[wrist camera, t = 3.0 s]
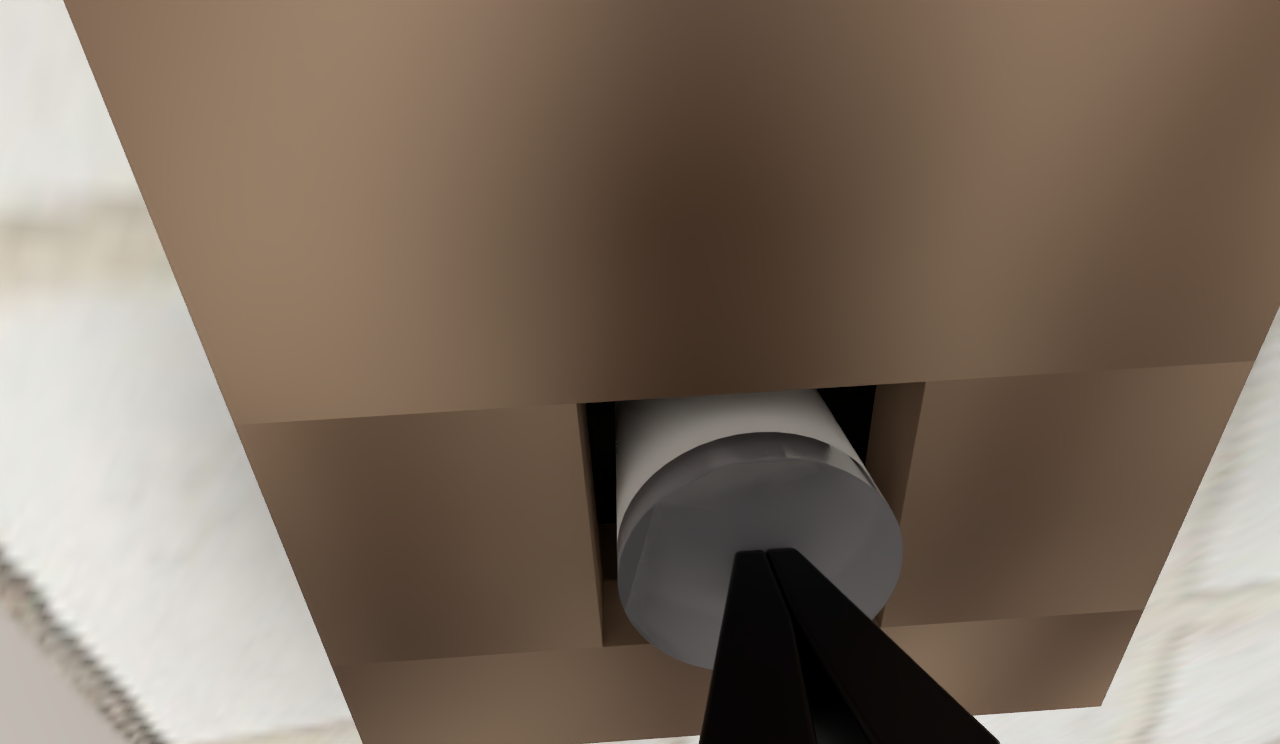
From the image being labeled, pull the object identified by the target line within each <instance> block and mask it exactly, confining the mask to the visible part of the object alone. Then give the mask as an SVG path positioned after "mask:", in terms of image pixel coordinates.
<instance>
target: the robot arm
mask: <svg viewBox="0 0 1280 744" xmlns="http://www.w3.org/2000/svg"><path fill="white" fill-rule="evenodd" d="M699 744H1000V742H999V741H998V740H997V739H996V738H995V737H994V736H993V735H992V734H991V733H990V732H989V731H988V730H987V729H986V728H985V727H984V726H983V725H982V724H980V723H979V722H978V721H977V720H976V719H975V718H974V717H973V716H972V715H971V714H970V713H969V712H968V711H967V710H966V709H965V708H964V707H963V706H961V705H960V704H959V703H958V702H957V701H956V700H955V699H954V698H953V697H952V696H951V695H950V694H949V693H948V692H947V691H946V690H945V689H944V688H943V687H941V686H940V685H939V684H938V683H937V682H936V681H935V680H934V679H933V678H932V677H931V676H930V675H929V674H928V673H927V672H926V671H925V670H924V669H923V668H921V667H920V666H919V665H918V664H917V663H916V662H915V661H914V660H913V659H912V658H911V657H910V656H909V655H908V654H907V653H906V652H905V651H904V650H902V649H901V648H900V647H899V646H898V645H897V644H896V643H895V642H894V641H893V640H892V639H891V638H890V637H889V636H888V635H887V634H886V633H885V632H884V631H882V630H881V629H880V628H879V627H878V626H877V625H876V624H875V623H874V622H873V621H872V620H871V619H870V618H869V617H868V616H867V615H866V614H865V613H864V612H862V611H861V610H860V609H859V608H858V607H857V606H856V605H855V604H854V603H853V602H852V601H851V600H850V599H849V598H848V597H847V596H846V595H845V594H844V593H842V592H841V591H840V590H839V589H838V588H837V587H836V586H835V585H834V584H833V583H832V582H831V581H830V580H829V579H828V578H827V577H826V576H825V575H823V574H822V573H821V572H820V571H819V570H818V569H817V568H816V567H815V566H814V565H813V564H812V563H811V562H810V561H809V560H808V559H807V558H806V557H805V556H803V555H802V554H801V553H800V552H799V551H798V550H797V549H795V548H791V547H789V548H774V549H768V550H767V551H766V552H764V551H763V550H745V551H738V552H736V553H735V556H734V561H733V566H732V571H731V576H730V582H729V587H728V592H727V598H726V603H725V608H724V613H723V619H722V624H721V629H720V635H719V640H718V645H717V650H716V656H715V661H714V666H713V672H712V677H711V682H710V687H709V693H708V698H707V703H706V708H705V714H704V719H703V724H702V730H701V735H700V740H699Z"/></svg>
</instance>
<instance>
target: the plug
mask: <svg viewBox="0 0 1280 744" xmlns="http://www.w3.org/2000/svg"><path fill="white" fill-rule="evenodd" d="M615 440H616V505H617V571H618V590H619V596H620V600H621V603H622V606H623V608H624V611H625V613H626V615H627V617H628V618H629V620H630V622H631V623H632V625H633V626H634V627H635V628H636V630H637V631H638V632H639V633H640V635H642V636H643V637H644V638H645V639H646V640H647V641H648V642H649V643H650V644H652V645H653V646H655V647H656V648H657V649H659V650H660V651H662V652H663V653H665V654H667V655H669V656H671V657H673V658H675V659H677V660H680V661H682V662H685V663H688V664H690V665H694V666H698V667H702V668H705V669H712V670H713V666H714V661H715V656H716V650H717V645H718V640H719V635H720V629H721V624H722V619H723V613H724V608H725V603H726V598H727V592H728V587H729V582H730V576H731V571H732V566H733V561H734V556H735V553H736V552H738V551H745V550H763V551H764V552H766V551H767V550H768V549H774V548H789V547H791V548H795V549H797V550H798V551H799V552H800V553H801V554H802V555H803V556H805V557H806V558H807V559H808V560H809V561H810V562H811V563H812V564H813V565H814V566H815V567H816V568H817V569H818V570H819V571H820V572H821V573H822V574H823V575H825V576H826V577H827V578H828V579H829V580H830V581H831V582H832V583H833V584H834V585H835V586H836V587H837V588H838V589H839V590H840V591H841V592H842V593H844V594H845V595H846V596H847V597H848V598H849V599H850V600H851V601H852V602H853V603H854V604H855V605H856V606H857V607H858V608H859V609H860V610H861V611H862V612H864V613H865V614H866V615H867V616H868V617H869V618H870V619H871V620H873V619H874V618H875V616H876V615H877V614H878V613H879V612H880V610H881V609H882V608H883V607H884V605H885V604H886V602H887V601H888V599H889V597H890V596H891V594H892V592H893V590H894V588H895V586H896V583H897V581H898V578H899V574H900V571H901V567H902V559H903V542H902V535H901V531H900V528H899V524H898V522H897V520H896V518H895V516H894V513H893V511H892V510H891V508H890V506H889V505H888V503H887V502H886V500H885V498H884V497H883V495H882V494H881V492H880V490H879V489H878V487H877V486H876V484H875V482H874V481H873V479H872V478H871V476H870V474H869V473H868V471H867V469H866V468H865V466H864V465H863V463H862V461H861V460H860V458H859V457H858V455H857V453H856V452H855V450H854V449H853V447H852V445H851V444H850V442H849V440H848V439H847V437H846V436H845V434H844V432H843V431H842V429H841V428H840V426H839V424H838V423H837V421H836V420H835V418H834V416H833V415H832V413H831V412H830V410H829V408H828V407H827V405H826V403H825V402H824V400H823V399H822V397H821V395H820V394H819V392H818V391H817V389H800V390H784V391H768V392H752V393H736V394H720V395H704V396H688V397H673V398H657V399H641V400H625V401H615Z"/></svg>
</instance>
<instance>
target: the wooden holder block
mask: <svg viewBox="0 0 1280 744" xmlns="http://www.w3.org/2000/svg"><path fill="white" fill-rule="evenodd" d="M63 1H64V3H65V6H66V8H67V11H68V13H69V15H70V18H71V20H72V23H73V25H74V28H75V30H76V33H77V35H78V38H79V40H80V43H81V45H82V48H83V50H84V53H85V55H86V58H87V60H88V63H89V65H90V68H91V70H92V73H93V75H94V78H95V80H96V82H97V85H98V87H99V90H100V92H101V95H102V97H103V100H104V102H105V105H106V107H107V110H108V112H109V115H110V117H111V120H112V122H113V125H114V127H115V130H116V132H117V135H118V137H119V140H120V142H121V145H122V147H123V149H124V152H125V154H126V157H127V159H128V162H129V164H130V167H131V169H132V172H133V174H134V177H135V179H136V182H137V184H138V187H139V189H140V192H141V194H142V197H143V199H144V202H145V204H146V207H147V209H148V212H149V214H150V216H151V219H152V221H153V224H154V226H155V229H156V231H157V234H158V236H159V239H160V241H161V244H162V246H163V249H164V251H165V254H166V256H167V259H168V261H169V264H170V266H171V269H172V271H173V274H174V276H175V279H176V281H177V283H178V286H179V288H180V291H181V293H182V296H183V298H184V301H185V303H186V306H187V308H188V311H189V313H190V316H191V318H192V321H193V323H194V326H195V328H196V331H197V333H198V336H199V338H200V341H201V343H202V346H203V348H204V350H205V353H206V355H207V358H208V360H209V363H210V365H211V368H212V370H213V373H214V375H215V378H216V380H217V383H218V385H219V388H220V390H221V393H222V395H223V398H224V400H225V403H226V405H227V408H228V410H229V413H230V415H231V417H232V420H233V422H234V425H235V427H236V430H237V432H238V435H239V437H240V440H241V442H242V445H243V447H244V450H245V452H246V455H247V457H248V460H249V462H250V465H251V467H252V470H253V472H254V475H255V477H256V480H257V482H258V484H259V487H260V489H261V492H262V494H263V497H264V499H265V502H266V504H267V507H268V509H269V512H270V514H271V517H272V519H273V522H274V524H275V527H276V529H277V532H278V534H279V537H280V539H281V542H282V544H283V547H284V549H285V551H286V554H287V556H288V559H289V561H290V564H291V566H292V569H293V571H294V574H295V576H296V579H297V581H298V584H299V586H300V589H301V591H302V594H303V596H304V599H305V601H306V604H307V606H308V609H309V611H310V614H311V616H312V618H313V621H314V623H315V626H316V628H317V631H318V633H319V636H320V638H321V641H322V643H323V646H324V648H325V651H326V653H327V656H328V658H329V661H330V663H331V666H332V668H333V671H334V673H335V676H336V678H337V681H338V683H339V685H340V688H341V690H342V693H343V695H344V698H345V700H346V703H347V705H348V708H349V710H350V713H351V715H352V718H353V720H354V723H355V725H356V728H357V730H358V733H359V735H360V738H361V740H362V743H363V744H585V743H599V742H613V741H626V740H640V739H654V738H668V737H682V736H696V735H701V730H702V724H703V719H704V714H705V708H706V703H707V698H708V693H709V687H710V682H711V677H712V672H713V670H712V669H705V668H702V667H698V666H694V665H690V664H688V663H685V662H682V661H680V660H677V659H675V658H673V657H671V656H669V655H667V654H665V653H663V652H662V651H660V650H659V649H657V648H656V647H655V646H653V645H652V644H650V643H649V642H648V641H647V640H646V639H645V638H644V637H643V636H642V635H640V633H639V632H638V631H637V630H636V628H635V627H634V626H633V625H632V623H631V622H630V620H629V618H628V617H627V615H626V613H625V611H624V608H623V606H622V603H621V600H620V596H619V590H618V571H617V524H602V525H598V522H597V512H596V502H595V492H594V482H593V472H592V463H591V453H590V443H589V433H588V423H587V413H586V403H593V402H609V401H625V400H641V399H657V398H673V397H688V396H704V395H720V394H736V393H752V392H768V391H784V390H800V389H816V388H832V387H848V386H864V385H876V392H875V399H874V406H873V413H872V420H871V427H870V434H869V441H868V448H867V455H866V463H865V468H866V469H867V471H868V473H869V474H870V476H871V478H872V479H873V481H874V482H875V484H876V486H877V487H878V489H879V490H880V492H881V494H882V495H883V497H884V498H885V500H886V502H887V503H888V505H889V506H890V508H891V510H892V511H893V513H894V516H895V518H896V520H897V522H898V524H899V528H900V531H901V535H902V542H903V559H902V567H901V571H900V574H899V578H898V581H897V583H896V586H895V588H894V590H893V592H892V594H891V596H890V597H889V599H888V601H887V602H886V604H885V605H884V607H883V608H882V609H881V610H880V612H879V613H878V614H877V615H876V616H875V618H874V619H873V620H872V621H873V622H874V623H875V624H876V625H877V626H878V627H879V628H880V629H881V630H882V631H884V632H885V633H886V634H887V635H888V636H889V637H890V638H891V639H892V640H893V641H894V642H895V643H896V644H897V645H898V646H899V647H900V648H901V649H902V650H904V651H905V652H906V653H907V654H908V655H909V656H910V657H911V658H912V659H913V660H914V661H915V662H916V663H917V664H918V665H919V666H920V667H921V668H923V669H924V670H925V671H926V672H927V673H928V674H929V675H930V676H931V677H932V678H933V679H934V680H935V681H936V682H937V683H938V684H939V685H940V686H941V687H943V688H944V689H945V690H946V691H947V692H948V693H949V694H950V695H951V696H952V697H953V698H954V699H955V700H956V701H957V702H958V703H959V704H960V705H961V706H963V707H964V708H965V709H966V710H967V711H968V712H969V713H970V714H971V715H972V716H973V715H987V714H1000V713H1014V712H1028V711H1042V710H1056V709H1070V708H1083V707H1097V706H1101V705H1102V702H1103V700H1104V698H1105V696H1106V693H1107V691H1108V689H1109V687H1110V684H1111V682H1112V680H1113V678H1114V675H1115V673H1116V671H1117V669H1118V667H1119V664H1120V662H1121V660H1122V658H1123V655H1124V653H1125V651H1126V649H1127V646H1128V644H1129V642H1130V640H1131V637H1132V635H1133V633H1134V631H1135V628H1136V626H1137V624H1138V622H1139V620H1140V617H1141V615H1142V613H1143V611H1144V608H1145V606H1146V604H1147V602H1148V599H1149V597H1150V595H1151V593H1152V590H1153V588H1154V586H1155V584H1156V581H1157V579H1158V577H1159V575H1160V573H1161V570H1162V568H1163V566H1164V564H1165V561H1166V559H1167V557H1168V555H1169V552H1170V550H1171V548H1172V546H1173V543H1174V541H1175V539H1176V537H1177V534H1178V532H1179V530H1180V528H1181V526H1182V523H1183V521H1184V519H1185V517H1186V514H1187V512H1188V510H1189V508H1190V505H1191V503H1192V501H1193V499H1194V496H1195V494H1196V492H1197V490H1198V487H1199V485H1200V483H1201V481H1202V479H1203V476H1204V474H1205V472H1206V470H1207V467H1208V465H1209V463H1210V461H1211V458H1212V456H1213V454H1214V452H1215V449H1216V447H1217V445H1218V443H1219V440H1220V438H1221V436H1222V434H1223V432H1224V429H1225V427H1226V425H1227V423H1228V420H1229V418H1230V416H1231V414H1232V411H1233V409H1234V407H1235V405H1236V402H1237V400H1238V398H1239V396H1240V393H1241V391H1242V389H1243V387H1244V385H1245V382H1246V380H1247V378H1248V376H1249V373H1250V371H1251V369H1252V367H1253V364H1254V362H1255V360H1256V358H1257V355H1258V353H1259V351H1260V349H1261V346H1262V344H1263V342H1264V340H1265V338H1266V335H1267V333H1268V331H1269V329H1270V326H1271V324H1272V322H1273V320H1274V317H1275V315H1276V313H1277V311H1278V308H1279V306H1280V0H63Z"/></svg>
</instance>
